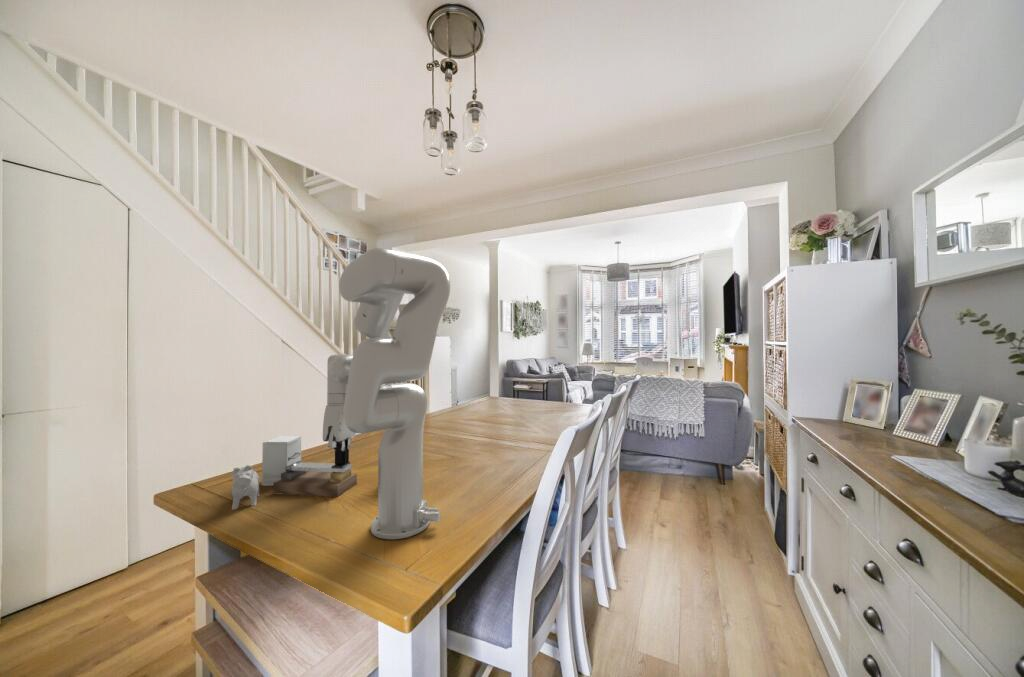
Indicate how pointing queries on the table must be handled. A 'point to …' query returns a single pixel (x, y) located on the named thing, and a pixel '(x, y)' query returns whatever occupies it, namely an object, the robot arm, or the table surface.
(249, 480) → the dog figurine
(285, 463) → the supplement box
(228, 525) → the table surface
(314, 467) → the grey flat bar
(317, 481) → the mount block
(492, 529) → the table surface
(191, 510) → the table surface
